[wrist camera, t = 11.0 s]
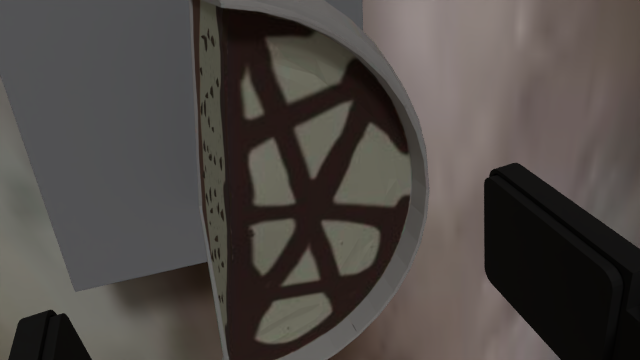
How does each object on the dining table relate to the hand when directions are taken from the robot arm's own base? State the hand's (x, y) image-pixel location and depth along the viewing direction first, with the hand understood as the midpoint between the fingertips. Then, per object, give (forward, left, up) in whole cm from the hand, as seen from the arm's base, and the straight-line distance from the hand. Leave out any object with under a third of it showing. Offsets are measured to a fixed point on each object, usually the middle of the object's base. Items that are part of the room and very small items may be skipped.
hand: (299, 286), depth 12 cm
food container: (-2, +1, -13) cm, 13 cm away
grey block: (+1, 0, -19) cm, 18 cm away
